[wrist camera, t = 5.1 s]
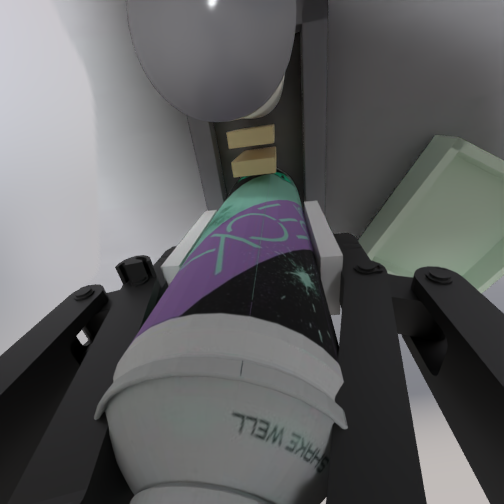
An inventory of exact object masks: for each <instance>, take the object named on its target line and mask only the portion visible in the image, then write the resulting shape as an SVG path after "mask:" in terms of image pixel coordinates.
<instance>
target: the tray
mask: <svg viewBox="0 0 504 504" xmlns="http://www.w3.org/2000/svg"><path fill="white" fill-rule="evenodd" d="M358 242H359V244H360V245H361V246H362V248H363V249H364V251H365V252H366V254H367V255H368V257H369V258H370V260H371V261H375V262H378V263H380V264H381V265H383V266H384V267H385V268H386V270H387V273H388V274H392V275H397V276H405V277H413V276H414V273H415V271H416V270H417V269H419V268H421V267H427V266H433V267H435V266H437V267H441V268H442V267H443V268H447V269H449V270H451V271H454V272H456V273H458V274H459V275H461V276H462V277H464V278H465V279H466V280H467V281H468V282H469V283H470V284H471V285H472V286H474V287H475V288H476V289H477V290H478V291H479V292H480V293H481V294H482V293H483V292H484V291H486V290H487V289H488V288H489V287H490V286H491V285H493V284H494V283H495V282H496V281H497V280H499V279H500V278H501V277H502V276H503V275H504V160H502V159H500V158H498V157H496V156H494V155H492V154H490V153H488V152H487V151H485V150H483V149H481V148H479V147H477V146H475V145H473V144H471V143H469V142H467V141H466V140H464V139H462V138H460V137H454V136H444V135H435V136H434V137H433V139H432V140H431V142H430V143H429V144H428V146H427V147H426V148H425V150H424V151H423V152H422V154H421V155H420V157H419V158H418V159H417V161H416V162H415V163H414V165H413V166H412V167H411V169H410V170H409V172H408V173H407V174H406V176H405V177H404V178H403V180H402V181H401V182H400V184H399V185H398V187H397V188H396V189H395V191H394V192H393V193H392V195H391V196H390V198H389V199H388V200H387V202H386V203H385V204H384V206H383V207H382V208H381V210H380V211H379V213H378V214H377V215H376V217H375V218H374V219H373V221H372V222H371V223H370V225H369V226H368V228H367V229H366V230H365V232H364V233H363V234H362V236H361V237H360V238H359V240H358Z"/></svg>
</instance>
